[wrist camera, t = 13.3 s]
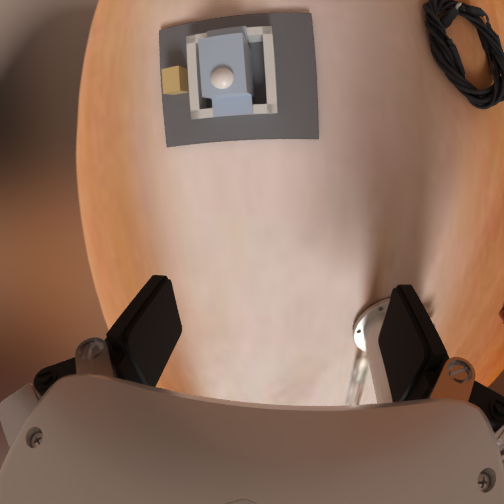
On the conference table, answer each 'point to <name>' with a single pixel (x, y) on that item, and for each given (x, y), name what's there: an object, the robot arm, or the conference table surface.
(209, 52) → the block
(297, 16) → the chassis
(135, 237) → the conference table surface
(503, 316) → the orange electrical enclosure
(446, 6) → the cable
